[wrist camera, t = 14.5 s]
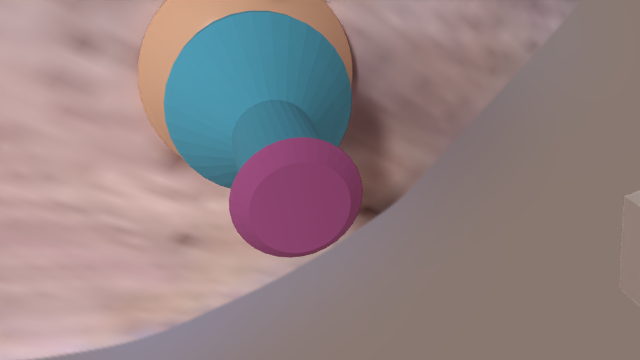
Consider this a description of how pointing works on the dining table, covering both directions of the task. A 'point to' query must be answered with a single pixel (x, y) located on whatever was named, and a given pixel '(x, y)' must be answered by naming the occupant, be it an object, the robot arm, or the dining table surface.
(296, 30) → the perfume bottle
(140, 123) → the dining table surface
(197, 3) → the saucer
